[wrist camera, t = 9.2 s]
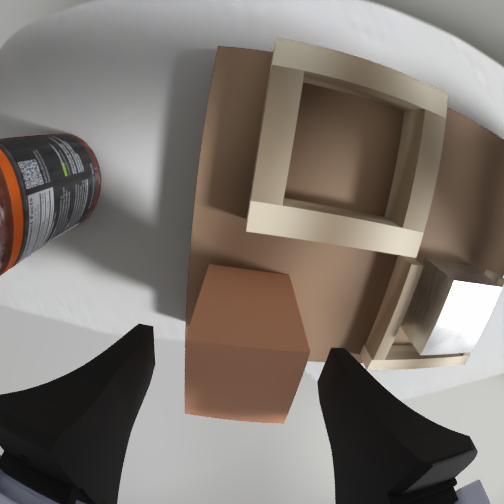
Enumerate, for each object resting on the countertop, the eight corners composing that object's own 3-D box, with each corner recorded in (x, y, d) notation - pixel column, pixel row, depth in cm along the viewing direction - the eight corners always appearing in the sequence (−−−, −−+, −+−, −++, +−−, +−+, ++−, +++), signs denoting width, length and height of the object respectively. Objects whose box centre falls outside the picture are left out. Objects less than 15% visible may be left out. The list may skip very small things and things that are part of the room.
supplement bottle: (24, 193, 15) (-102, 250, 5) (58, 117, 14) (-92, 124, 3) (80, 244, 17) (-42, 343, 6) (122, 166, 15) (-38, 216, 4)
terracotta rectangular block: (289, 274, 15) (310, 352, 9) (274, 338, 16) (283, 423, 10) (209, 264, 14) (185, 338, 9) (203, 329, 16) (184, 413, 10)
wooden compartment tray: (509, 154, 14) (545, 162, 10) (450, 340, 20) (473, 369, 16) (222, 60, 13) (214, 35, 9) (191, 323, 19) (180, 363, 15)
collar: (426, 97, 11) (448, 94, 9) (398, 244, 14) (416, 258, 12) (273, 52, 11) (276, 37, 9) (246, 219, 14) (245, 231, 12)
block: (474, 266, 15) (501, 287, 12) (449, 326, 16) (470, 352, 13) (425, 257, 14) (454, 280, 12) (399, 325, 16) (420, 355, 13)
